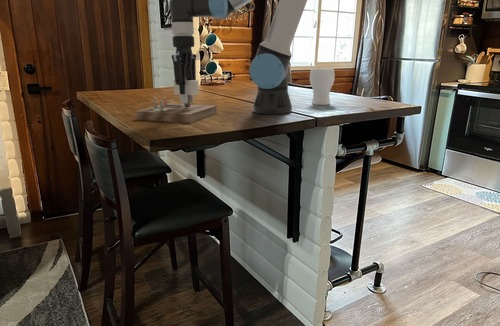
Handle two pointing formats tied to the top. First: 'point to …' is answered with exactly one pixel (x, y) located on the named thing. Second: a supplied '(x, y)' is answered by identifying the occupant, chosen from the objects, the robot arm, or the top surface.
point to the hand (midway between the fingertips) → (187, 102)
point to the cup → (321, 84)
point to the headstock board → (176, 113)
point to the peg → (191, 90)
